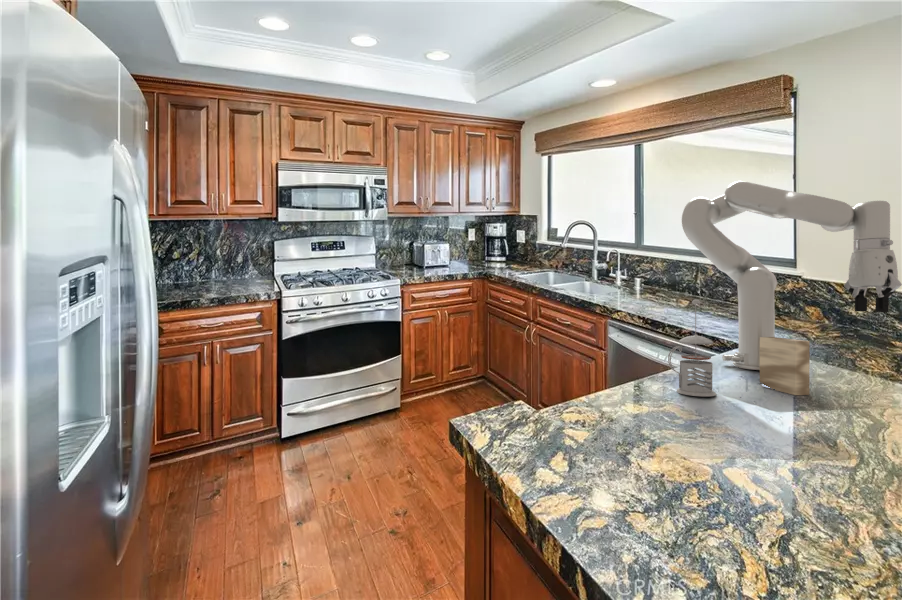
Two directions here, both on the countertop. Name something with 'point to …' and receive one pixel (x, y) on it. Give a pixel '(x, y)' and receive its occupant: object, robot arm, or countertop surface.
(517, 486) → the countertop surface
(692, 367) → the french press
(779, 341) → the maple block
